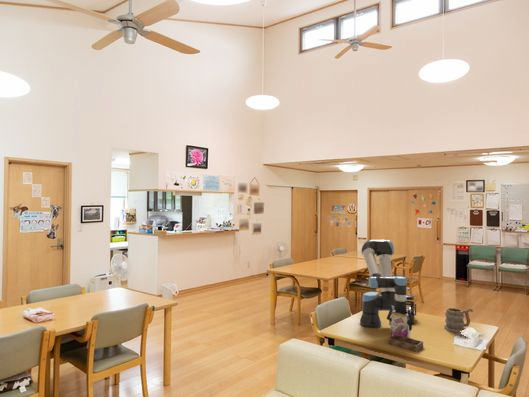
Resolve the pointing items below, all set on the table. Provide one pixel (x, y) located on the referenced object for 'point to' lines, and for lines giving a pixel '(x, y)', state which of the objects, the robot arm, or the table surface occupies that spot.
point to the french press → (411, 304)
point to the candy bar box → (399, 324)
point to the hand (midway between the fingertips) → (400, 332)
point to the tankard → (456, 319)
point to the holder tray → (405, 343)
